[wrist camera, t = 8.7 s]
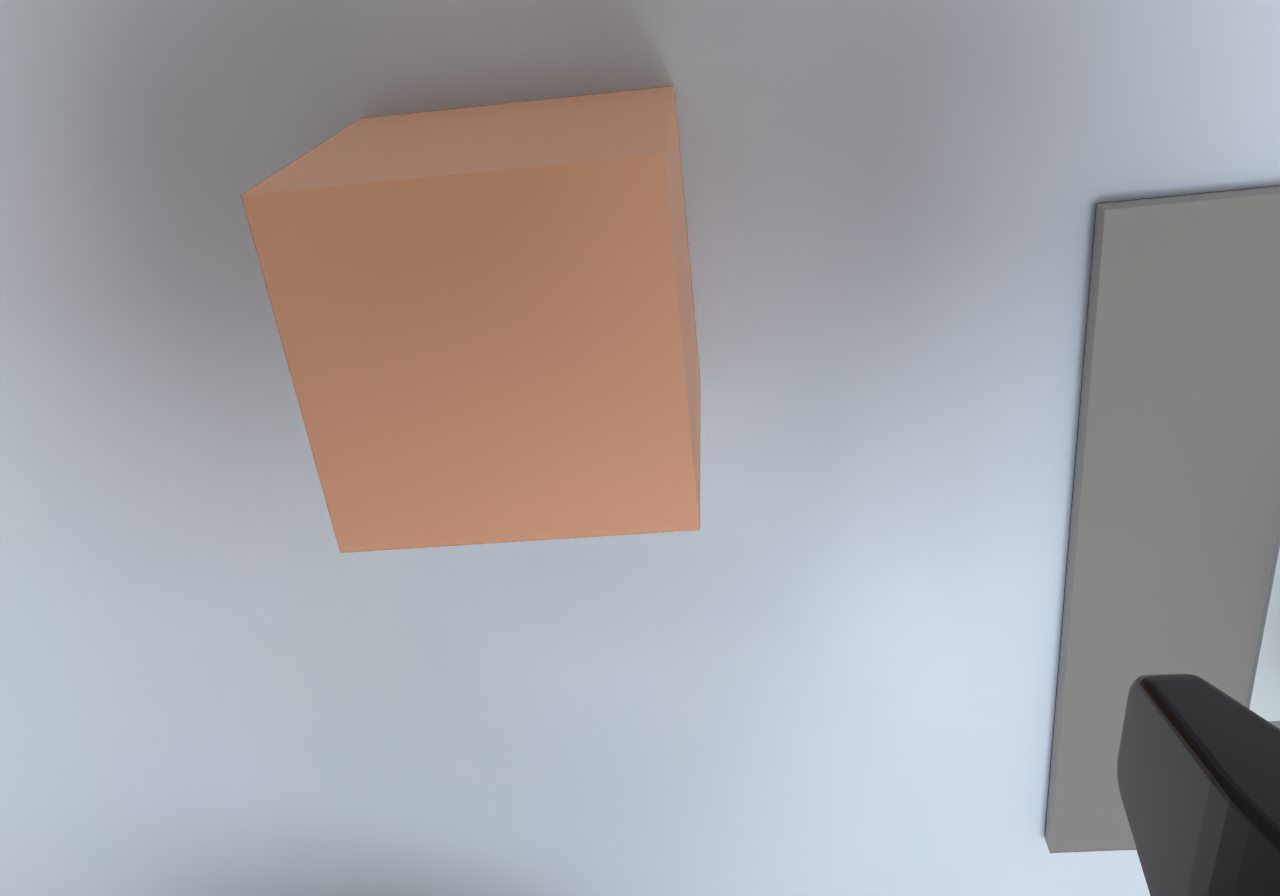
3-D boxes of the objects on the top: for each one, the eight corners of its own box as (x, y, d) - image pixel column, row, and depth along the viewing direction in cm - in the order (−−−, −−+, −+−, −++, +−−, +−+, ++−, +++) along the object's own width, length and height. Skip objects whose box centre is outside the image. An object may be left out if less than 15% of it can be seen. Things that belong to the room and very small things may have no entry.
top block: (700, 380, 19) (700, 529, 14) (423, 401, 19) (340, 552, 15) (674, 85, 16) (663, 153, 12) (362, 117, 17) (241, 195, 12)
